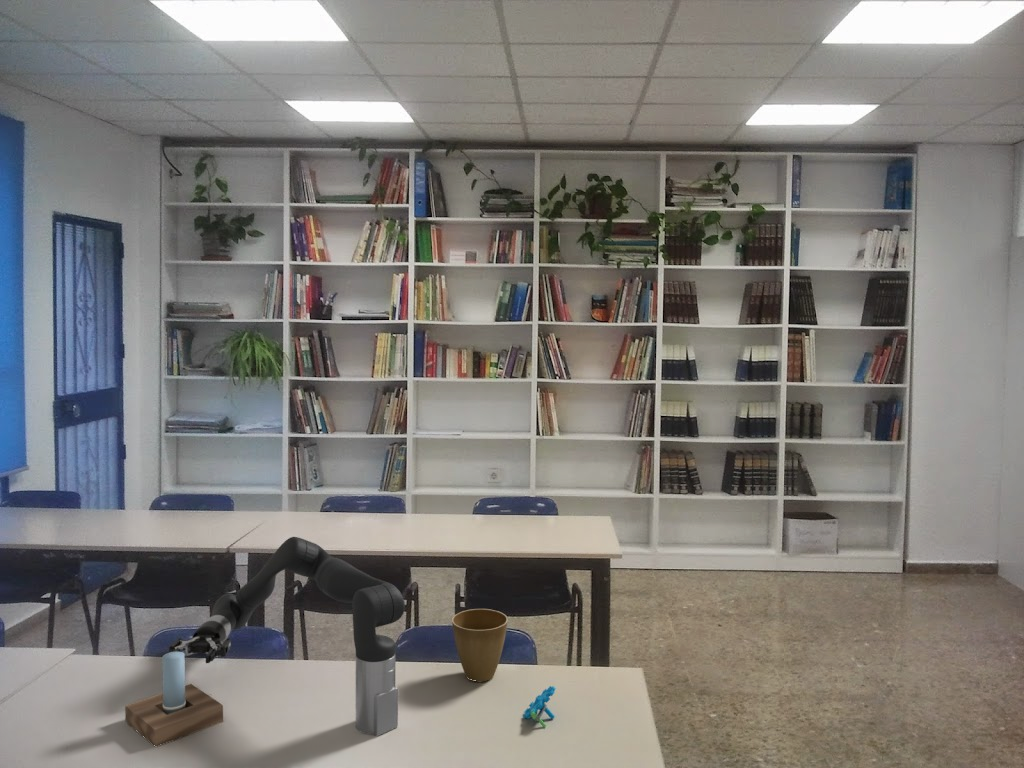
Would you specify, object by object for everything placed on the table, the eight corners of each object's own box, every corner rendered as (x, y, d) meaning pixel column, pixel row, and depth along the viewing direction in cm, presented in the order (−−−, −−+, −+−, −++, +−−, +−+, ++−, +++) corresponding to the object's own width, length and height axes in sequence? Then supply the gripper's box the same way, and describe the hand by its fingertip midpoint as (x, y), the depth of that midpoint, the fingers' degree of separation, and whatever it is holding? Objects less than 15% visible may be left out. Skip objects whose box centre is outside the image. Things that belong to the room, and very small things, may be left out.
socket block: (223, 721, 191) (222, 705, 191) (155, 747, 180) (155, 729, 179) (191, 699, 202) (191, 683, 202) (125, 722, 190) (125, 705, 190)
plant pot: (457, 663, 226) (458, 607, 225) (510, 666, 224) (511, 610, 223) (445, 686, 211) (446, 627, 210) (502, 691, 209) (503, 631, 208)
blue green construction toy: (530, 697, 202) (556, 677, 198) (546, 716, 202) (573, 695, 198) (514, 723, 192) (541, 702, 188) (531, 743, 192) (559, 722, 188)
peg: (189, 721, 191) (188, 655, 190) (168, 729, 187) (167, 662, 186) (180, 714, 195) (179, 649, 193) (159, 721, 191) (158, 655, 190)
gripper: (185, 619, 216) (160, 644, 200) (239, 620, 216) (218, 645, 200) (185, 647, 217) (161, 674, 201) (239, 647, 217) (219, 674, 201)
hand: (189, 659), depth 200 cm, fingers open, 8 cm apart
